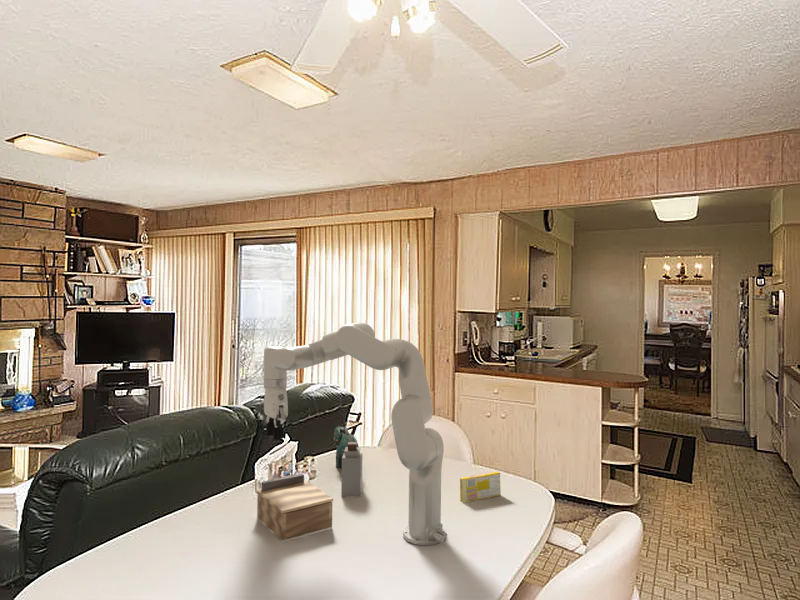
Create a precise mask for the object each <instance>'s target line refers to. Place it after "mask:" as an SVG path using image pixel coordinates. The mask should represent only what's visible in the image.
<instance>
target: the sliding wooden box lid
mask: <svg viewBox="0 0 800 600" xmlns="http://www.w3.org/2000/svg"><path fill="white" fill-rule="evenodd" d="M260 487H261V488H260V489H256V493H257V495H258V494H259V495H260V496H262V497H263V498H264V499H265V500H266V501H267V502H269V503H270V504H271V505H272V506H273V507H275V508H276V509H277V510H278V511H279V512H281V513H282V514H283V513H287V512H291V511H295V510H299V509H303V508H307V507H311V506H315V505H319V504H323V503H327V502H332V503H333V502H334V498H333V497H332V496H330V495H328V493H326V492H324V491H322V490H321V489H320V488H318V487H317V486H316V485H314V484H312V483H310V482H309V481H308V480H305V474H303V473H298V474H294V475H288V476H284V477H279V478H274V479H269V480H264V481H261V486H260Z"/></svg>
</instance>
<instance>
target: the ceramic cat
mask: <svg viewBox="0 0 800 600" xmlns="http://www.w3.org/2000/svg"><path fill="white" fill-rule="evenodd" d="M336 424H337V425H336V427H335V428H334V431H333V441H334V442H335V444H336V449H335V451H336V452H335V468H336V469H338V470H342V457H343V454H344V450H345V448H346V447H348V445H347V444H348V442H357V447H360V446H359V442H358V440H357V438H356V437H355V436H354V435H353V434H351V433H349V429H348V428H347V427H348V423H347V421H344V423H343V425H344V426H340V425H339V423H336ZM359 453H361V451H360V452H359Z"/></svg>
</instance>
